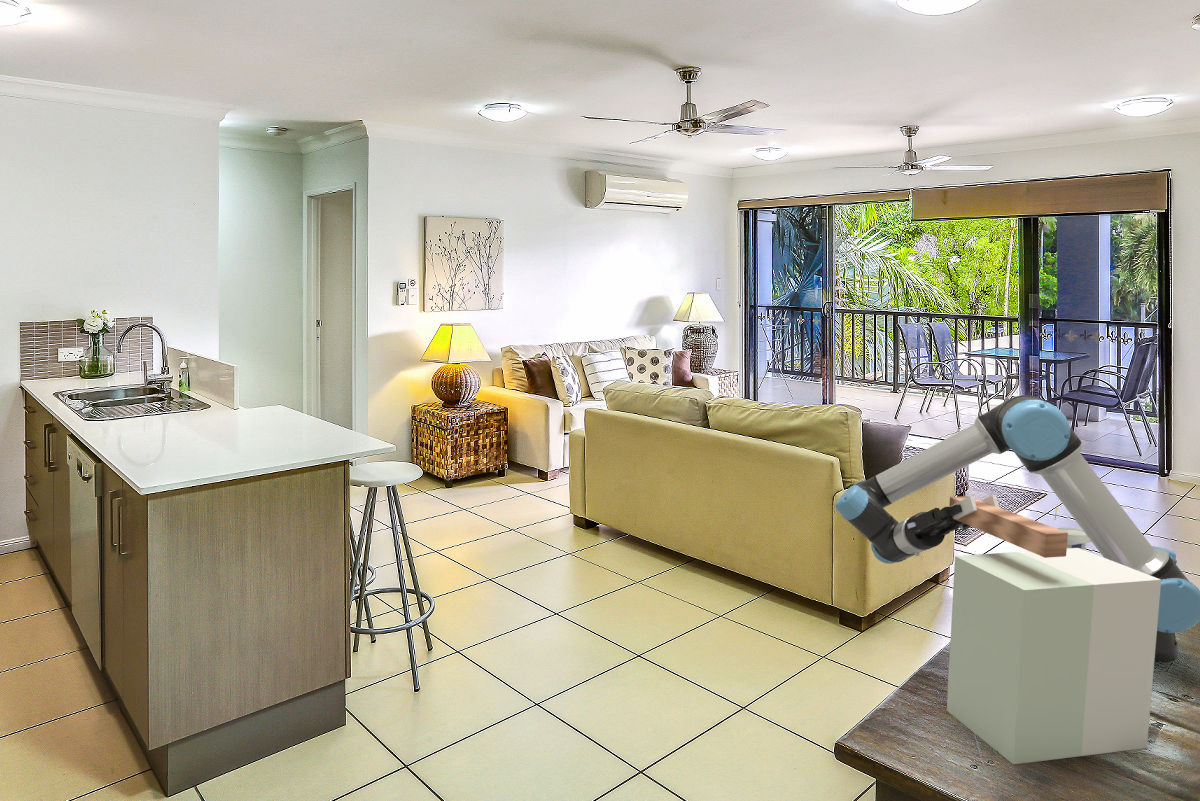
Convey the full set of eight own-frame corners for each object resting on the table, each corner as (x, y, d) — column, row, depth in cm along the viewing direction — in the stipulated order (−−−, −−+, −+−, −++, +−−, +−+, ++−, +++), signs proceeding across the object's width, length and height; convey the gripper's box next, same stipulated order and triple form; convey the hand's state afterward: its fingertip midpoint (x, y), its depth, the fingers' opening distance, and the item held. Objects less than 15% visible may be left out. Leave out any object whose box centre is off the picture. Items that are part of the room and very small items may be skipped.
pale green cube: (946, 710, 149) (954, 556, 146) (1067, 697, 154) (1078, 547, 151) (1013, 764, 132) (1024, 590, 128) (1146, 748, 137) (1161, 579, 133)
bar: (948, 516, 157) (949, 497, 156) (967, 515, 157) (968, 496, 157) (1044, 557, 131) (1046, 534, 131) (1066, 556, 132) (1067, 532, 131)
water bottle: (1056, 610, 198) (1063, 512, 195) (1043, 598, 207) (1050, 504, 204) (1092, 612, 197) (1100, 514, 194) (1078, 600, 205) (1085, 505, 203)
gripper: (960, 548, 170) (1031, 520, 149) (887, 552, 167) (948, 524, 146) (951, 514, 173) (1019, 481, 152) (879, 517, 170) (938, 485, 149)
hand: (984, 502), depth 149 cm, fingers closed on bar, 4 cm apart
